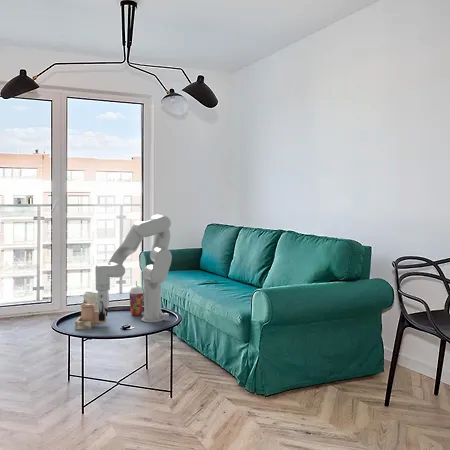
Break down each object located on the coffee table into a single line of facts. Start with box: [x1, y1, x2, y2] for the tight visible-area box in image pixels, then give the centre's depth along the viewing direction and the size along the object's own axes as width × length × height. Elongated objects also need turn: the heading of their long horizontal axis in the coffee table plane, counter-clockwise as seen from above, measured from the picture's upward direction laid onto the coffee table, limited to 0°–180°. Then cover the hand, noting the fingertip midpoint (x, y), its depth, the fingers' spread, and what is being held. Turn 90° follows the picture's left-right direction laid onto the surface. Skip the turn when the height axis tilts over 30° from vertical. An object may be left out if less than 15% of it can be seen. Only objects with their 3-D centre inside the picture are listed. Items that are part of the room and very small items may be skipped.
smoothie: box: [128, 280, 144, 317], centre depth 299 cm, size 8×8×20 cm
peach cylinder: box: [80, 302, 107, 328], centre depth 274 cm, size 13×8×12 cm, turn 95°
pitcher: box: [82, 291, 99, 311], centre depth 291 cm, size 11×18×14 cm, turn 39°
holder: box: [74, 315, 92, 330], centre depth 274 cm, size 8×11×4 cm
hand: (103, 318), depth 275 cm, fingers open, 8 cm apart
